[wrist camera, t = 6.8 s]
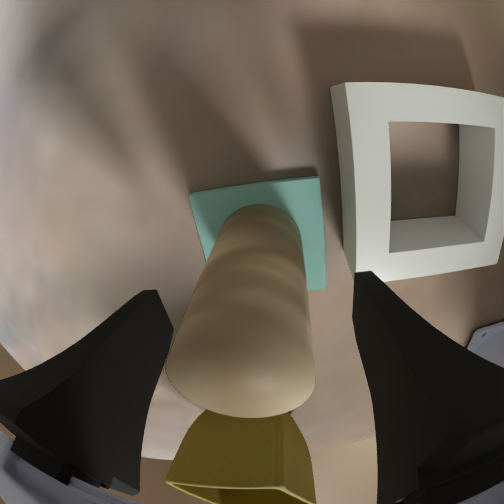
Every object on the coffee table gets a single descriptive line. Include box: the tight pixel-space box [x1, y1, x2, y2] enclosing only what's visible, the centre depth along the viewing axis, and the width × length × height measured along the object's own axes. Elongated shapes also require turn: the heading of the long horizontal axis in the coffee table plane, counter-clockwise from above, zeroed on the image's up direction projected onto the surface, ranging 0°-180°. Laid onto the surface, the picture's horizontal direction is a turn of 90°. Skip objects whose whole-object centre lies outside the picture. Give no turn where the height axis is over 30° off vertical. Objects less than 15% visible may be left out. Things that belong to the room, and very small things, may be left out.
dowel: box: [166, 204, 315, 418], centre depth 11 cm, size 4×4×8 cm
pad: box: [189, 176, 326, 291], centre depth 14 cm, size 6×6×1 cm
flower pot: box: [164, 409, 316, 504], centre depth 19 cm, size 9×9×9 cm
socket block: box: [330, 82, 504, 282], centre depth 10 cm, size 8×8×3 cm
